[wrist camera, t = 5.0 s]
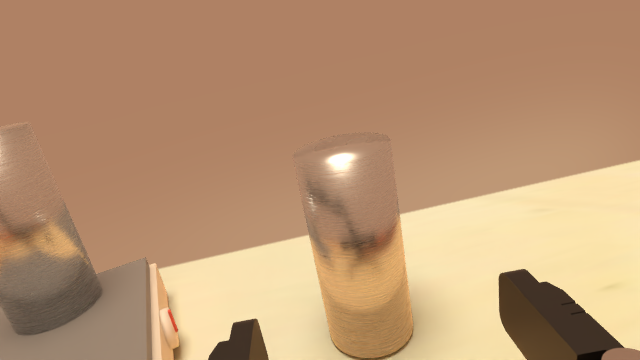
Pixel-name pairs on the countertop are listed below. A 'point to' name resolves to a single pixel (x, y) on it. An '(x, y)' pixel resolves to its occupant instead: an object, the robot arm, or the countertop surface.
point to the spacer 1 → (38, 242)
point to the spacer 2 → (357, 241)
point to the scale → (107, 323)
